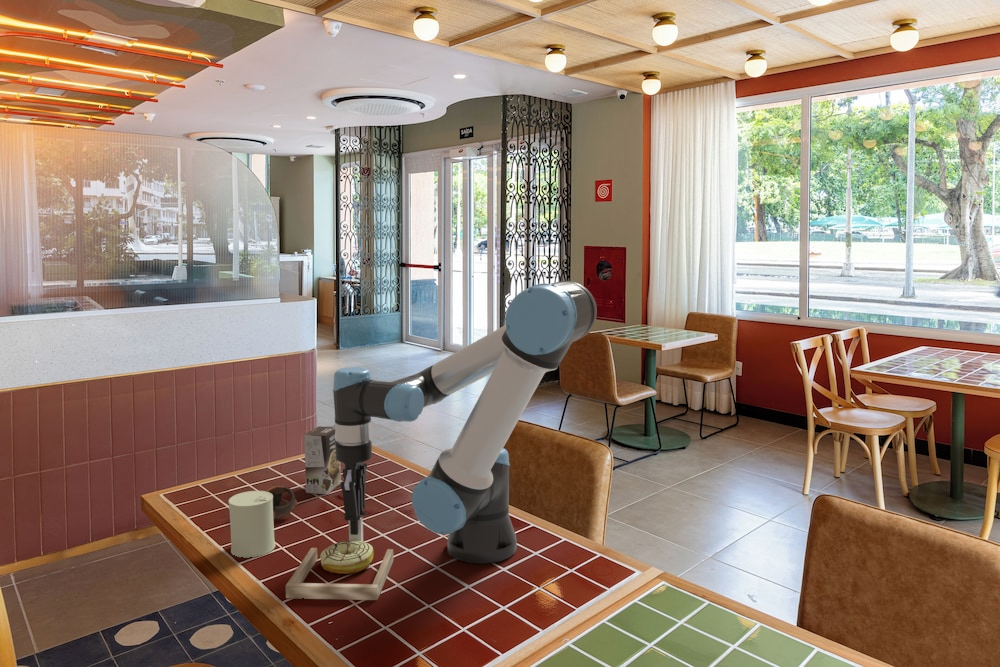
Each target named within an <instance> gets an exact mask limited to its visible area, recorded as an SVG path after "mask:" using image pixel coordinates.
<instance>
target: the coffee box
mask: <svg viewBox="0 0 1000 667" xmlns="http://www.w3.org/2000/svg"><path fill="white" fill-rule="evenodd" d="M303 435H304V466H305V468H304V469H305V470H304V472H305V493H306V494H315V495H329V494H330V493H331V492H333V490H334V489H336V488H337V487H338V486H339V485H340V486H341V482H342V474H341V473H342V472H341V471H342V470H341V469H342V468H341V466H342V465H341V463H342V462H339V461H338V460H337V459H336V449H335V444H336V442H337V441H336V439H335V430H334V429H333V426H319V425H318V426H317V427H315V428H313V429H311V430H310V431H308V432H307V433H305V434H303Z"/></svg>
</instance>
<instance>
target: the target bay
mask: <svg viewBox="0 0 1000 667" xmlns="http://www.w3.org/2000/svg"><path fill="white" fill-rule="evenodd" d="M317 560H318V548H317V547H311V548H310V549H309V550H308V552H307V554H306V555H305V556H304V558H303V560H302V561H301V563H300V564H299V566H298V567H297V568H296V570H295V571H294V573H292V576H291V577H290V579H288V581H287V583H286V584H285V586H284V588H285V598H286V599H300V600H301V599H302V598H304V599H305V600H307V599H308V600H347V601H348V600H350V601H353V600H354V601H357V600H358V601H378V599H379V598H380V594H381V592H382V590H383V587H384V585H385V582H386V580H387V578H388V576H389V573H390V570H391V568H392V565H393V562H394V560H395V559H394V549H392V548H388V549H386V552H385V554H384V557H383V558H382V562H381V563H380V566H379V568H378V570H377V572H376V575H375V577H374V579H373V582H372V583H371V584H370V583H369V584H367V583H322V582H321V583H318V582H317V583H316V582H314V583H313V582H304V581H305V579H306V578H307V576H308V574H309V573H310V572H311V570H312V569H313V567H314V565H315V564H316V563H317ZM304 599H303V600H304Z"/></svg>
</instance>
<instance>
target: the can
mask: <svg viewBox="0 0 1000 667" xmlns="http://www.w3.org/2000/svg"><path fill="white" fill-rule="evenodd" d="M273 509H274V507H273V495H272V494H271V493H269V492H266V491H265V490H249V491H244V492H239V493H237V494H234V495H232V496H231V497H230V498H229V499H228V511H229V524H230V553H231V555H232V556H234V555H235V556H234V557H236V556H237V557H236V558H241V557H243V558H244V559H249V558H250V557H252V558H258V557H261V555H262V556H264V554H265V555H267V554H269V553H271V552H272V551H273V550H274V549H275V548H276V542H275V526H274V521H273ZM257 556H258V557H257ZM243 558H242V559H243Z"/></svg>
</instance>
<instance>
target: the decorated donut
mask: <svg viewBox="0 0 1000 667" xmlns="http://www.w3.org/2000/svg"><path fill="white" fill-rule="evenodd" d="M374 555H375V554H374V548H373V545H371V544H370V543H368V542H365V541H364V540H363V541H349V540H345V541H339V542H336V543H333V544H331V545H329V546H328V547H326V548H325V549H324V550H322V552H321V553H320V555H319V558H320V565H321V567H322V568H323V570H324V571H327V572H329V573H333V574H337V575H341V574H344V575H350V574H354V573H359V572H362V571H363V570H365V569H367V567H369V566H370V564H371V563H372V561H373V559H374Z"/></svg>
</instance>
